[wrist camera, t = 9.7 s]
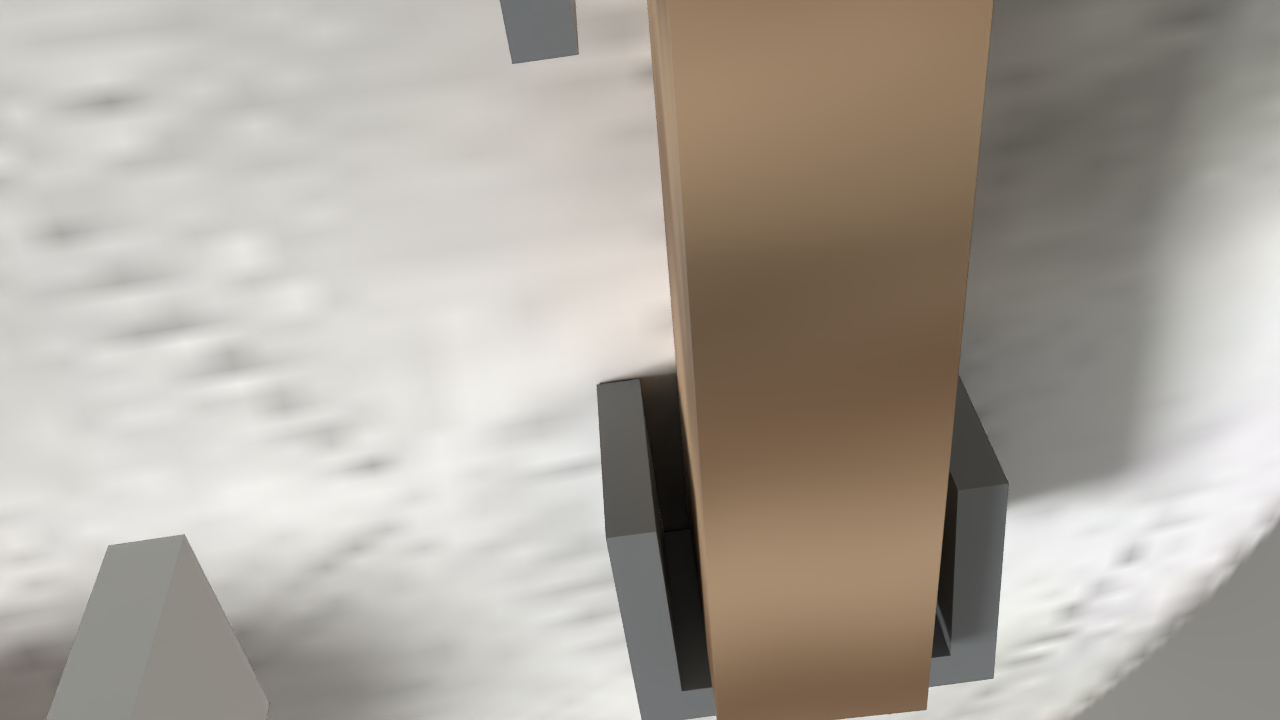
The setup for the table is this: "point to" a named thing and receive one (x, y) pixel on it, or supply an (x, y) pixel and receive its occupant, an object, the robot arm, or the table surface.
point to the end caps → (664, 562)
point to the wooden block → (818, 330)
